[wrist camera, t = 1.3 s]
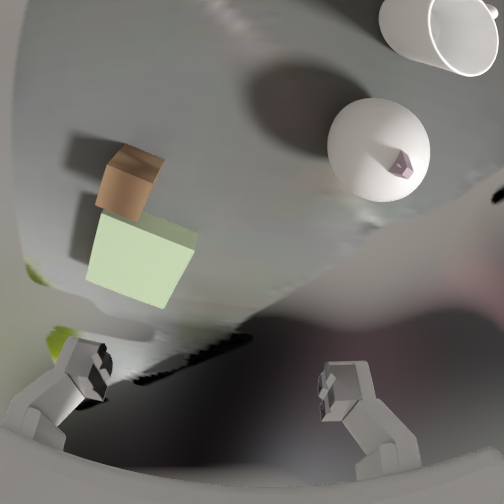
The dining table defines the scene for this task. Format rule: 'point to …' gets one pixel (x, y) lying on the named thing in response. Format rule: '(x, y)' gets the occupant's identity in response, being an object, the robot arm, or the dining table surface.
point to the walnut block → (128, 182)
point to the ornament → (378, 149)
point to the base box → (140, 256)
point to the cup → (442, 33)
